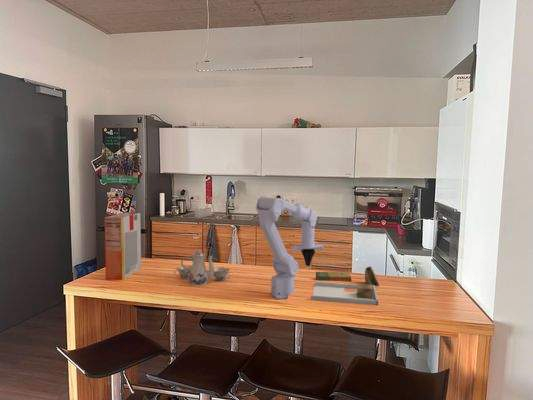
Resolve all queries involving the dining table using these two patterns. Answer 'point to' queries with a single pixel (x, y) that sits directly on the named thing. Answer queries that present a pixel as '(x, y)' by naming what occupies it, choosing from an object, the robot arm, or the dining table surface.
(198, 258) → the chinaware
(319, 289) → the trap tray
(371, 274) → the rock
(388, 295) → the dining table surface
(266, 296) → the dining table surface
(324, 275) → the carton
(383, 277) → the dining table surface
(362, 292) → the walnut block
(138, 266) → the pasta box
